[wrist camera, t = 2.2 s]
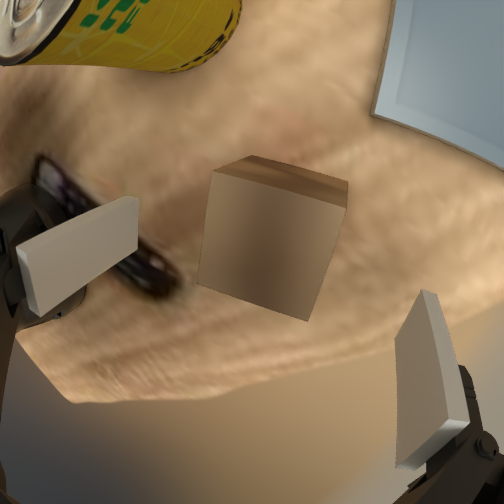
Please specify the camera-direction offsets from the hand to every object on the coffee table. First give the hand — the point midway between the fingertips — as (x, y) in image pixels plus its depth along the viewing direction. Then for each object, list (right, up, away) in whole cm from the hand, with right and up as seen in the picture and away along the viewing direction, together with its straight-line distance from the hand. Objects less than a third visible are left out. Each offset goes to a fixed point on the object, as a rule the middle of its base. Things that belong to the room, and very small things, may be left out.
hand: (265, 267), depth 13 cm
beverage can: (-5, +17, +3) cm, 18 cm away
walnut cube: (+2, +3, +6) cm, 7 cm away
